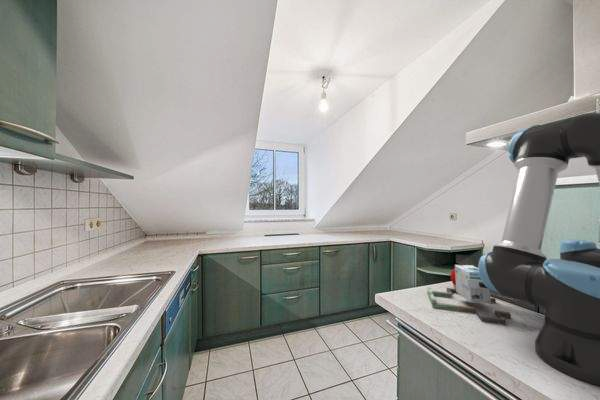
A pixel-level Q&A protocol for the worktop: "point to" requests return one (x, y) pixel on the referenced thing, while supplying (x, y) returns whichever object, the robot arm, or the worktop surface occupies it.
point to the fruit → (453, 277)
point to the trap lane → (498, 314)
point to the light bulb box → (469, 292)
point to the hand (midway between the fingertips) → (462, 277)
